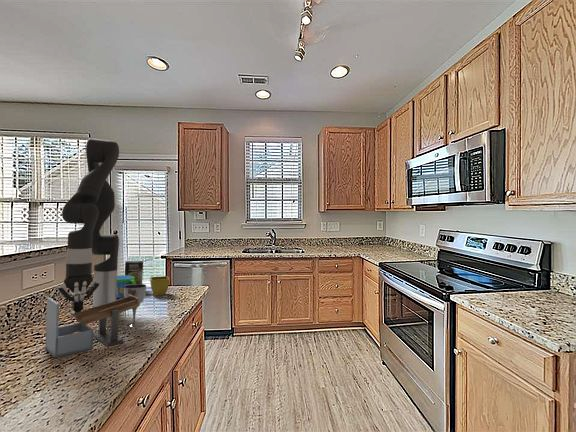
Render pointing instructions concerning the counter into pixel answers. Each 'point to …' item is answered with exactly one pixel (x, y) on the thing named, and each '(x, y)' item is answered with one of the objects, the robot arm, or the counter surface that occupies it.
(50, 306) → the grey-blue open bin
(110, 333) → the lever stand
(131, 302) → the lever
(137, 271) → the coffee box
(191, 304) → the counter surface
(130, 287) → the wine glass
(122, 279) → the snack cup
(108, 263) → the robot arm
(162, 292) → the flower pot
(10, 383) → the counter surface
